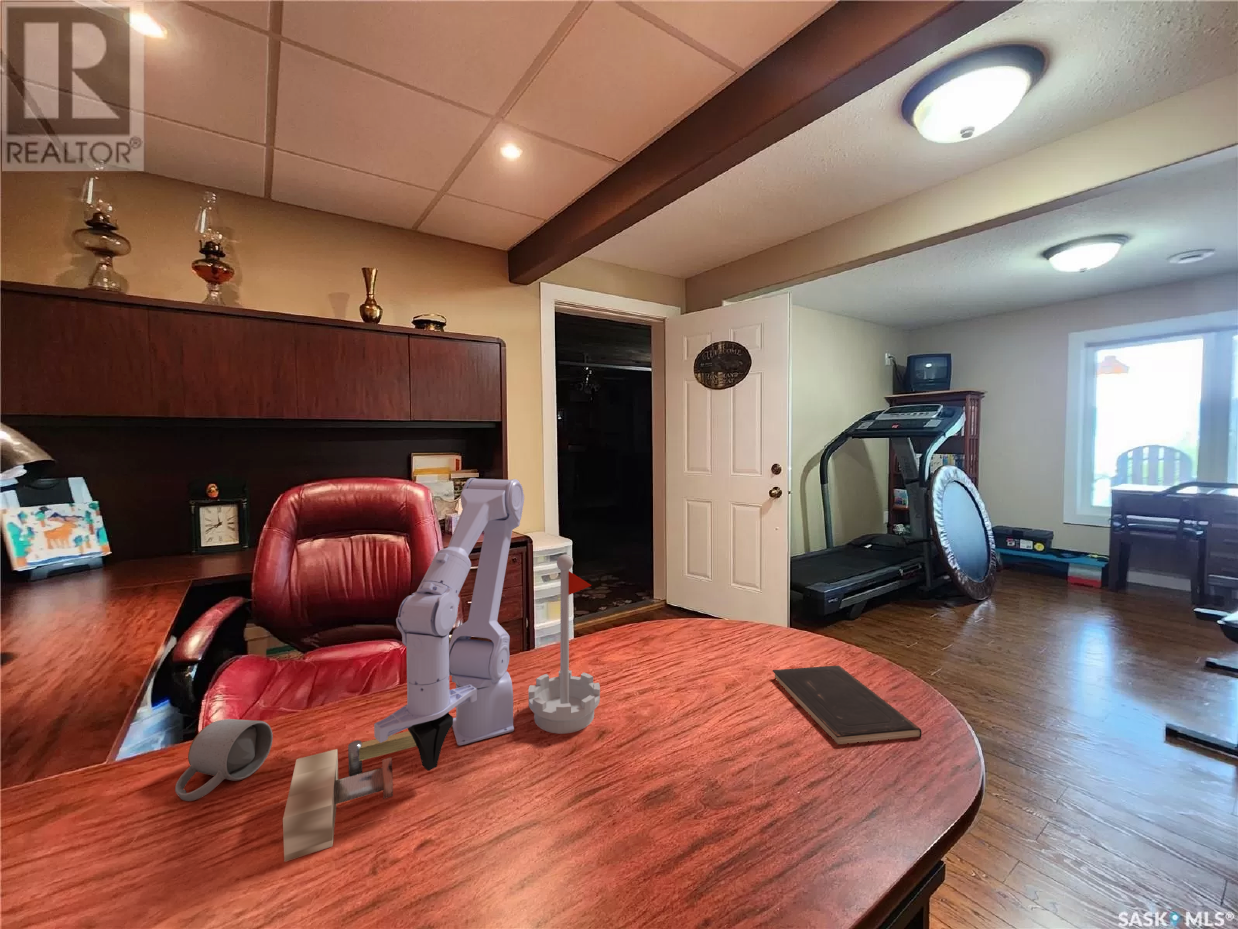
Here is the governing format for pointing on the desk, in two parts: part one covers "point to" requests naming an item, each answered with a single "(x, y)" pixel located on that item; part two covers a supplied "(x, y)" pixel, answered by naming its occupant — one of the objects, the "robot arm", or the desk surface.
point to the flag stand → (565, 675)
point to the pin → (365, 783)
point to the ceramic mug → (225, 753)
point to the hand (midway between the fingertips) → (429, 765)
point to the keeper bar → (376, 749)
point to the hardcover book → (844, 705)
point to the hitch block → (310, 805)
